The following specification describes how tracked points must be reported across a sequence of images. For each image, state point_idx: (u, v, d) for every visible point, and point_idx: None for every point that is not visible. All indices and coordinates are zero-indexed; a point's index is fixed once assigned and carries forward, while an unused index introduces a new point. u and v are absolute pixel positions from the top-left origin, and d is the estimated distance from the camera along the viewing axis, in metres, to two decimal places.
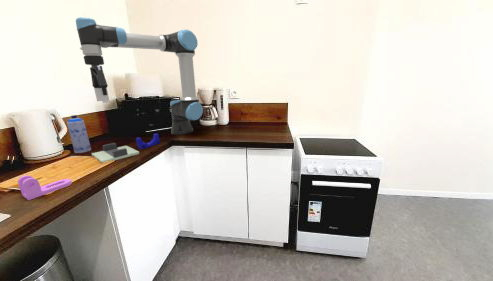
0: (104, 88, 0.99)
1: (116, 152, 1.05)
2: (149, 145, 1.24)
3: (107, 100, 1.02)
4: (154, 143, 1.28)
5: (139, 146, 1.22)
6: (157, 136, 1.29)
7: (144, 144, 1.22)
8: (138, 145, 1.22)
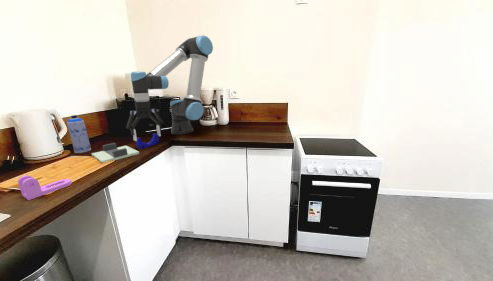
0: (130, 129, 1.17)
1: (116, 152, 1.05)
2: (148, 145, 1.25)
3: (134, 139, 1.19)
4: (153, 143, 1.29)
5: (138, 146, 1.22)
6: (156, 136, 1.29)
7: (143, 144, 1.22)
8: (137, 145, 1.23)
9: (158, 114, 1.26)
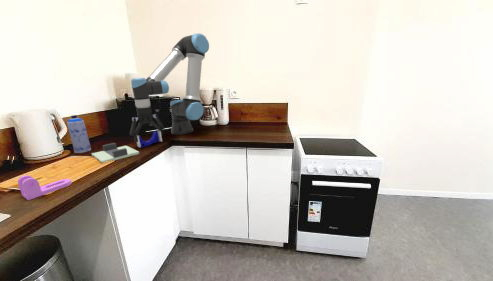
0: (134, 136, 1.19)
1: (116, 152, 1.05)
2: (149, 143, 1.25)
3: (138, 145, 1.21)
4: (153, 141, 1.29)
5: None
6: (156, 134, 1.30)
7: (144, 142, 1.23)
8: None
9: (159, 119, 1.27)
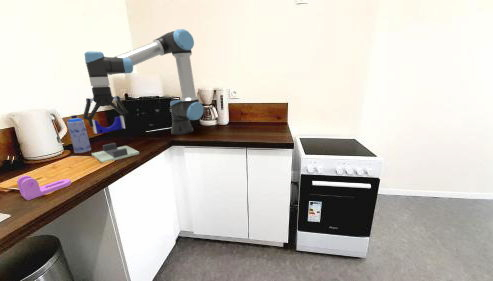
0: (88, 120, 1.02)
1: (116, 152, 1.05)
2: (108, 129, 1.08)
3: (94, 131, 1.04)
4: (115, 127, 1.12)
5: None
6: (118, 120, 1.13)
7: (101, 128, 1.06)
8: None
9: None
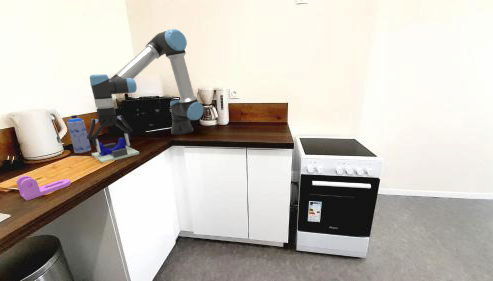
0: (92, 140, 1.04)
1: (116, 152, 1.05)
2: None
3: (98, 150, 1.07)
4: (119, 148, 1.15)
5: (100, 152, 1.09)
6: (122, 140, 1.16)
7: (106, 150, 1.09)
8: None
9: None
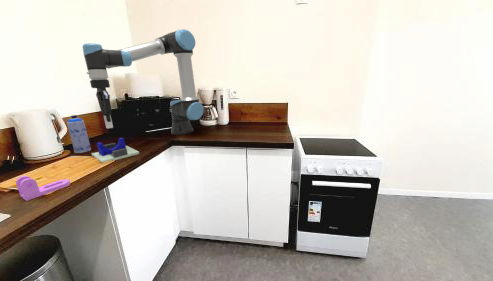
0: (108, 115, 1.06)
1: (116, 152, 1.05)
2: None
3: (111, 126, 1.09)
4: (119, 148, 1.15)
5: (100, 152, 1.09)
6: (122, 140, 1.16)
7: (106, 150, 1.09)
8: (99, 151, 1.09)
9: None
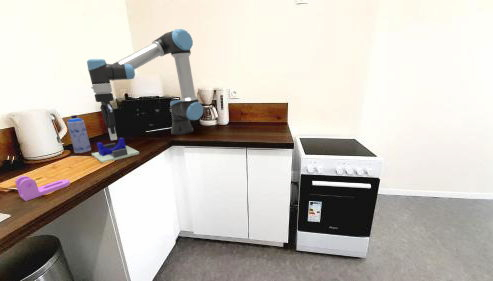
0: (112, 128, 1.09)
1: (116, 152, 1.05)
2: None
3: (115, 138, 1.12)
4: (119, 148, 1.15)
5: (100, 152, 1.09)
6: (122, 140, 1.16)
7: (106, 150, 1.09)
8: (99, 151, 1.09)
9: None
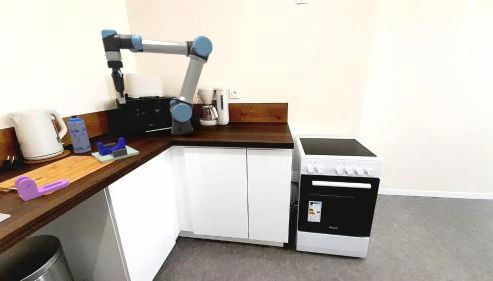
0: (122, 92, 1.24)
1: (116, 152, 1.05)
2: None
3: (123, 101, 1.27)
4: (119, 148, 1.15)
5: (100, 152, 1.09)
6: (122, 140, 1.16)
7: (106, 150, 1.09)
8: (99, 151, 1.09)
9: None
